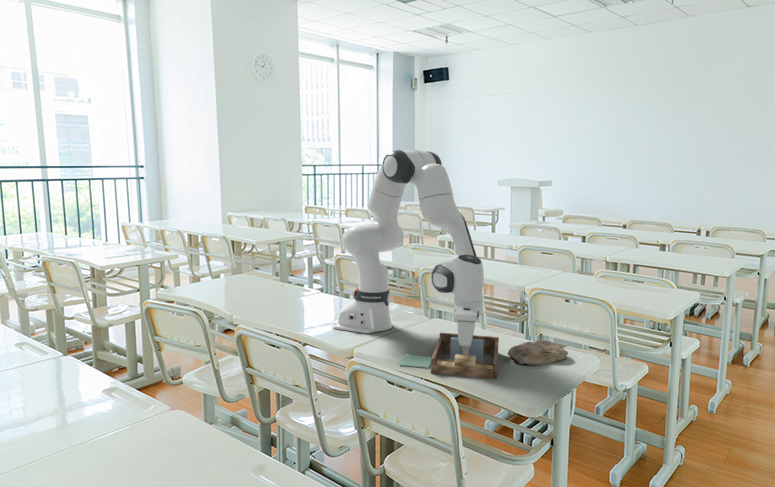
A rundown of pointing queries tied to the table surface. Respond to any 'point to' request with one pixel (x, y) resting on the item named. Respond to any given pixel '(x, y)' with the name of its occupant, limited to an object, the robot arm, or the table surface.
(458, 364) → the offcut top
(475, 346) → the sheet
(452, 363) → the offcut
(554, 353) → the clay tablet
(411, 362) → the pad
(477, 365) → the offcut
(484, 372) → the rack
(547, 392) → the table surface
